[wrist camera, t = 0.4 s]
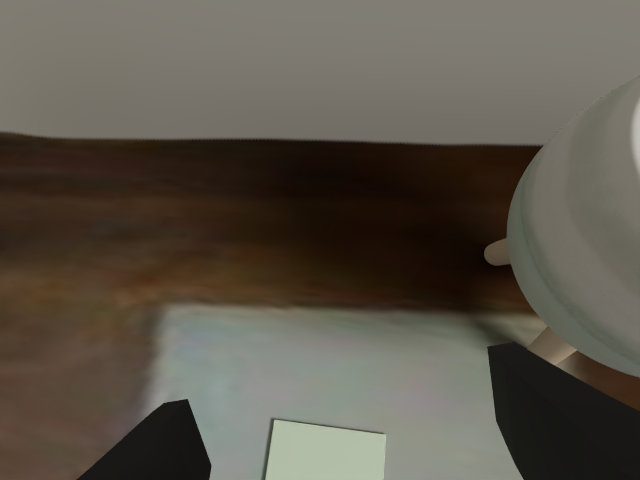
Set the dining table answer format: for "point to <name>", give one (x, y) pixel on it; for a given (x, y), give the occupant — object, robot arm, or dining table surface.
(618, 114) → the planter
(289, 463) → the sage mat
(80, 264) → the dining table surface
